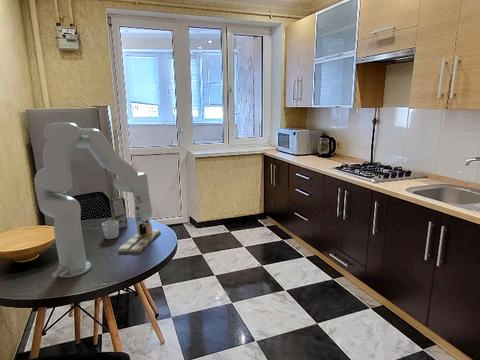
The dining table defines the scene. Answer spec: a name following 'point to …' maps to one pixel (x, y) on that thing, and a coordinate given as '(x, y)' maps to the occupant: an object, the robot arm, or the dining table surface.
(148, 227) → the fader tab
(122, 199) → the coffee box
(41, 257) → the dining table surface
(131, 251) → the slider board
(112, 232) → the cup
